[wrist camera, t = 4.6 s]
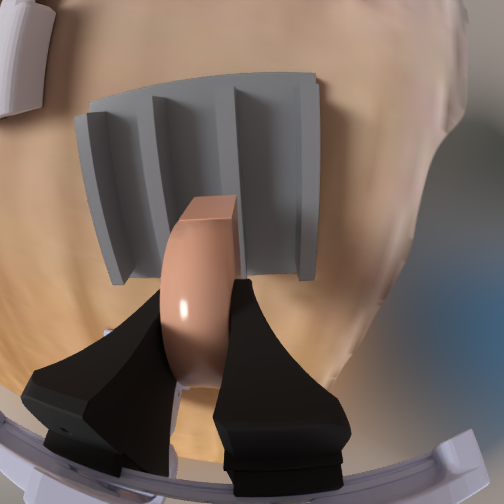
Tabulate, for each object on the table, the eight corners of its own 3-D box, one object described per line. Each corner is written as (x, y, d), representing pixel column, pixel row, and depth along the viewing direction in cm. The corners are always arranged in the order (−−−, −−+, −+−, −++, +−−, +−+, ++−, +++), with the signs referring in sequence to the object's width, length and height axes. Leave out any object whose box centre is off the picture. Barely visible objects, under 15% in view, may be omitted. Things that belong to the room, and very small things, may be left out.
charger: (78, -39, 8) (47, 107, 15) (12, -5, 7) (-10, 123, 14) (50, -54, 3) (8, 113, 11) (-16, -10, 3) (-43, 133, 10)
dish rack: (310, 265, 21) (318, 292, 18) (128, 271, 22) (112, 295, 19) (312, 75, 14) (325, 66, 11) (95, 102, 15) (68, 104, 12)
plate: (244, 313, 16) (239, 419, 10) (210, 313, 16) (191, 417, 10) (236, 194, 13) (218, 278, 6) (194, 197, 13) (140, 278, 6)
